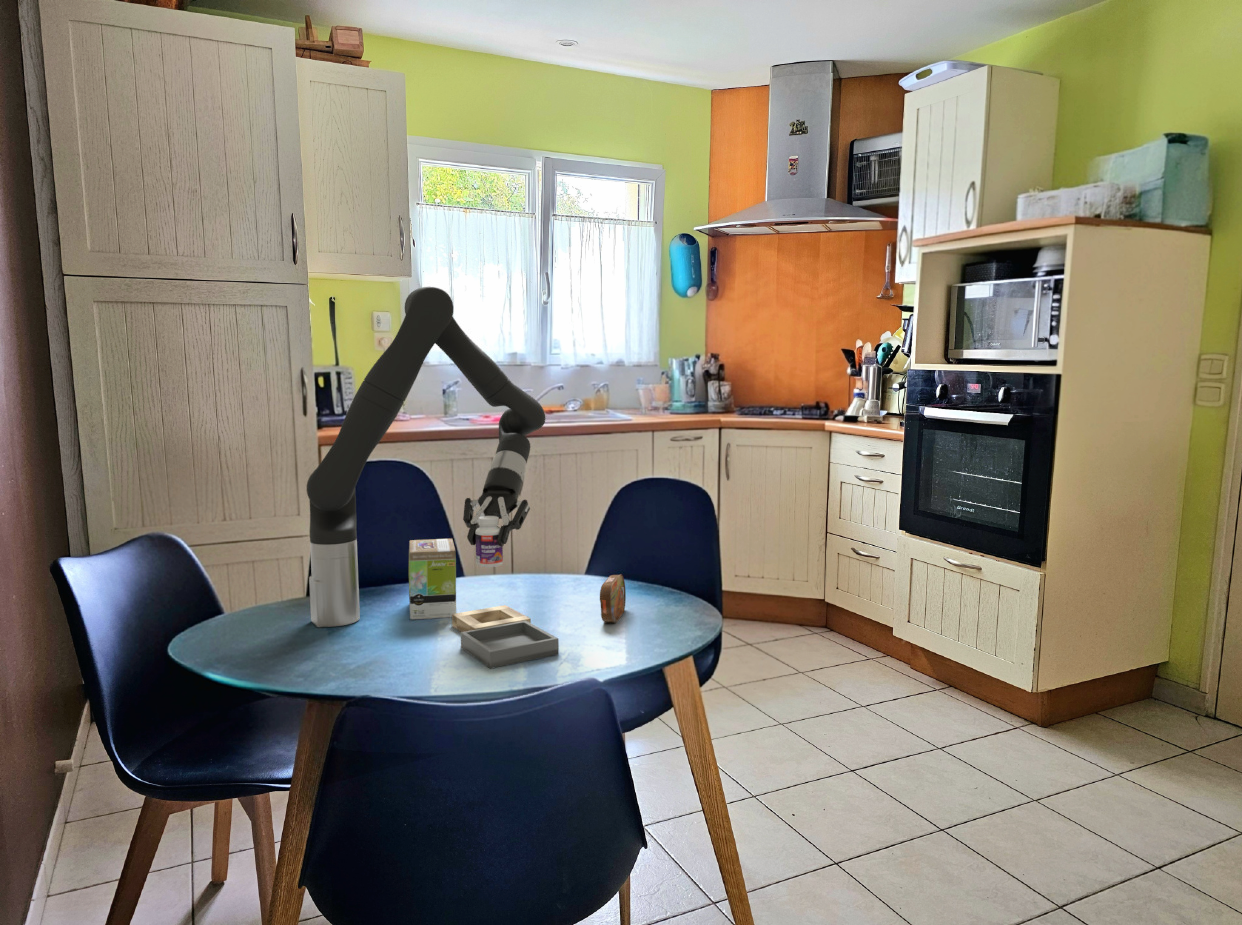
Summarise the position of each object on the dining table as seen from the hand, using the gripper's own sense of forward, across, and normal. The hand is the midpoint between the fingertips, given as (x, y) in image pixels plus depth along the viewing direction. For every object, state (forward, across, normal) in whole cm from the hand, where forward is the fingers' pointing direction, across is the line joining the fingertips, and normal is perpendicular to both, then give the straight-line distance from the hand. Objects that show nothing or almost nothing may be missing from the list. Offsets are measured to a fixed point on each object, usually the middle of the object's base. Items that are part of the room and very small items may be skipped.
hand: (485, 543), depth 164 cm
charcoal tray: (+20, +9, +5) cm, 23 cm away
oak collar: (+12, 0, +14) cm, 18 cm away
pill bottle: (+2, 0, +5) cm, 5 cm away
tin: (+3, +23, +23) cm, 32 cm away
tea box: (+4, -18, +22) cm, 28 cm away
